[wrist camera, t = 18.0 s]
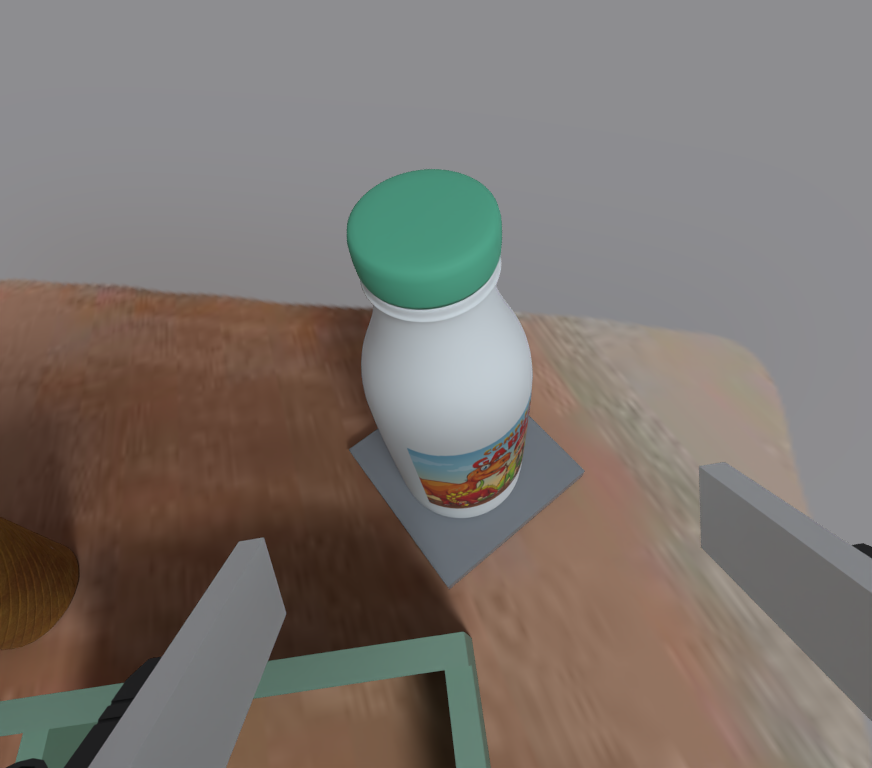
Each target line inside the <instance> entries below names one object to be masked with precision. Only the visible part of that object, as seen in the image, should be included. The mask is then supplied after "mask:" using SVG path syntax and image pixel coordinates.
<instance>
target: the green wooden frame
mask: <svg viewBox="0 0 872 768" xmlns="http://www.w3.org/2000/svg"><path fill="white" fill-rule="evenodd" d="M442 670H445V676H446V685H447V693H448V702H449V710H450V719H451V727H452V736H453V744H454V753H455V761H456V768H491V766H490V759H489V753H488V746H487V739H486V732H485V725H484V719H483V712H482V705H481V698H480V692H479V685H478V678H477V671H476V664H475V658H474V651H473V644H472V638H471V637H470V636H469V635H467V634H466V633H465V632H458V633H451V634H444V635H438V636H431V637H424V638H418V639H411V640H405V641H398V642H391V643H385V644H378V645H371V646H365V647H358V648H352V649H345V650H338V651H332V652H325V653H318V654H312V655H305V656H299V657H292V658H285V659H279V660H272V661H268V662H267V664H266V667H265V669H264V672H263V674H262V677H261V680H260V682H259V685H258V687H257V690H256V692H255V695H254V697H253V699H254V698H261V697H268V696H274V695H281V694H288V693H295V692H301V691H308V690H315V689H321V688H328V687H335V686H341V685H348V684H355V683H362V682H368V681H375V680H382V679H388V678H395V677H402V676H408V675H415V674H422V673H429V672H435V671H442ZM123 684H124V683H120V684H113V685H106V686H100V687H93V688H86V689H80V690H73V691H67V692H60V693H53V694H47V695H40V696H33V697H27V698H20V699H14V700H7V701H0V736H6V735H13V734H20V733H23V735H22V739H21V743H20V747H19V751H18V754H17V758H16V762H19V761H23V760H27V759H31V758H36V759H41V760H44V761H45V763H46V765H47V767H48V768H64V766H65V765H66V764H67V762H68V761H69V759H70V758H71V757H72V755H73V754H74V752H75V751H76V750H77V748H78V747H79V746H80V744H81V743H82V741H83V740H84V739H85V737H86V736H87V734H88V733H89V732H90V730H91V729H92V727H93V726H94V725H96V724H97V723H98V719H99V718H100V716H101V715H102V713H103V712H104V711H105V709H106V708H107V706H109V705H111V701H112V699H113V698H114V697H115V695H116V694H117V692H118V691H119V690H120V688H121V687H122V685H123ZM16 762H15V763H16Z"/></svg>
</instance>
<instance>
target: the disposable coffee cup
mask: <svg viewBox="0 0 872 768" xmlns="http://www.w3.org/2000/svg"><path fill="white" fill-rule="evenodd" d="M78 577H79V571H78V563H77V559H76V557H75V556H74V554H73V552H72V551H71V550H70V549H69V548H68V547H66V546H64V545H62V544H59V543H57V542H55V541H52V540H50V539H48V538H46V537H43V536H41V535H39V534H37V533H35V532H32V531H30V530H28V529H26V528H24V527H22V526H19V525H17V524H15V523H13V522H11V521H8V520H6V519H4V518H2V517H0V649H1V650H6V649H14V648H18V647H22V646H25V645H27V644H29V643H31V642H34V641H35V640H37V639H38V638H40V637H41V636H43V635H44V634H45V633H46V632H47V631H49V630H50V629H51V628H52V627H53V626H54V625H55V624H56V622H57V621H58V620H59V619H60V618H61V617H62V615H63V614H64V612H65V611H66V609H67V608H68V606H69V604H70V602H71V600H72V598H73V596H74V593H75V590H76V587H77V583H78Z"/></svg>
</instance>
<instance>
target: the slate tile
mask: <svg viewBox="0 0 872 768" xmlns="http://www.w3.org/2000/svg"><path fill="white" fill-rule="evenodd" d="M349 451H350V452H351V454H352V455H353V456H354V458H355V459H356V461H357V462H358V463H359V465H360V466H361V468H362V469H363V470H364V472H365V473H366V475H367V476H368V477H369V479H370V480H371V481H372V483H373V484H374V486H375V487H376V488H377V490H378V491H379V493H380V494H381V495H382V497H383V498H384V500H385V501H386V502H387V504H388V505H389V506H390V508H391V509H392V511H393V512H394V513H395V515H396V516H397V518H398V519H399V520H400V522H401V523H402V524H403V526H404V527H405V529H406V530H407V531H408V533H409V534H410V536H411V537H412V538H413V540H414V541H415V543H416V544H417V545H418V547H419V548H420V549H421V551H422V552H423V554H424V555H425V556H426V558H427V559H428V561H429V562H430V563H431V565H432V566H433V568H434V569H435V570H436V572H437V573H438V574H439V576H440V577H441V579H442V580H443V581H444V583H445V584H446V586H447V587H448V588H449V589H450V588H452V587H453V586H454V585H455V584H456V583H457V582H459V581H460V580H461V579H462V578H463V577H464V576H466V575H467V574H468V573H469V572H470V571H472V570H473V569H474V568H475V567H476V566H477V565H479V564H480V563H481V562H482V561H483V560H484V559H486V558H487V557H488V556H489V555H490V554H491V553H493V552H494V551H495V550H496V549H497V548H498V547H500V546H501V545H502V544H503V543H504V542H506V541H507V540H508V539H509V538H510V537H511V536H513V535H514V534H515V533H516V532H517V531H518V530H520V529H521V528H522V527H523V526H524V525H525V524H527V523H528V522H529V521H530V520H531V519H532V518H534V517H535V516H536V515H537V514H538V513H540V512H541V511H542V510H543V509H544V508H545V507H547V506H548V505H549V504H550V503H551V502H552V501H554V500H555V499H556V498H557V497H558V496H559V495H561V494H562V493H563V492H564V491H565V490H566V489H568V488H569V487H570V486H571V485H572V484H574V483H575V482H576V481H577V480H578V479H579V478H581V477H582V475H583V473H584V470H583V469H582V468H581V467H580V466H579V465H578V464H577V463H576V462H575V461H574V460H573V459H572V458H571V457H570V456H569V455H568V454H567V453H566V452H565V451H564V450H563V449H562V448H561V447H560V446H559V445H558V444H557V443H556V442H555V441H554V440H553V439H552V438H551V437H550V436H549V435H548V434H547V433H546V432H545V431H544V430H543V429H542V428H541V427H540V426H539V425H538V424H537V423H536V422H535V421H534V420H533V419H532V418H531V417H530V416H529V418H528V426H527V433H526V439H525V446H524V453H523V459H522V465H521V469H520V473H519V477H518V480H517V482H516V485H515V487H514V488H513V490H512V492H511V493H510V494H509V496H508V497H507V498H506V499H505V500H504V501H503V502H502V503H501V504H500V505H498V506H497V507H496V508H494V509H492V510H491V511H489V512H487V513H485V514H482V515H479V516H475V517H469V518H452V517H447V516H443V515H440V514H437V513H435V512H433V511H431V510H429V509H428V508H426V507H425V506H423V505H422V504H421V503H420V502H419V501H418V500H417V499H416V498H415V497H414V496H413V494H412V493H411V491H410V490H409V488H408V487H407V485H406V483H405V481H404V479H403V477H402V475H401V474H400V472H399V470H398V468H397V466H396V464H395V462H394V460H393V458H392V456H391V454H390V452H389V450H388V448H387V446H386V444H385V442H384V440H383V437H382V435H381V433H380V431H379V429H377V430H375V431H374V432H373V433H371V434H370V435H368V436H367V437H366V438H364V439H363V440H361V441H360V442H359V443H357V444H356V445H355V446H353V447H352V448H350V449H349Z"/></svg>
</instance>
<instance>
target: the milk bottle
mask: <svg viewBox="0 0 872 768" xmlns="http://www.w3.org/2000/svg"><path fill="white" fill-rule="evenodd" d="M501 243H502V221H501V214H500V211H499V208H498V204H497V202H496V200H495V198H494V196H493V195H492V193H491V192H490V191H489V190H488V189H487V188H486V187H485V186H484V185H483V184H481V183H480V182H478V181H477V180H475V179H473V178H471V177H469V176H466V175H464V174H461V173H457V172H453V171H448V170H439V169H425V170H417V171H411V172H407V173H403V174H400V175H397V176H394V177H392V178H389V179H387V180H385V181H383V182H381V183H380V184H378V185H376V186H375V187H374V188H372V189H371V190H369V191H368V192H367V193H366V194H365V195H364V196H363V197H362V198H361V199H360V200H359V201H358V202H357V204H356V205H355V206H354V208H353V210H352V212H351V214H350V217H349V219H348V223H347V244H348V248H349V252H350V255H351V258H352V262H353V264H354V266H355V269H356V272H357V274H358V276H359V278H360V282H361V286H362V289H363V291H364V293H365V295H366V297H367V298H368V299H369V301H370V302H371V303H372V304H373V313H372V317H371V320H370V323H369V326H368V329H367V332H366V335H365V339H364V343H363V349H362V358H361V370H362V382H363V387H364V392H365V396H366V399H367V403H368V405H369V407H370V410H371V412H372V415H373V417H374V420H375V422H376V425H377V427H378V429H379V431H380V433H381V435H382V437H383V440H384V442H385V444H386V446H387V448H388V450H389V452H390V454H391V456H392V458H393V460H394V462H395V464H396V466H397V468H398V470H399V472H400V474H401V475H402V477H403V479H404V481H405V483H406V485H407V487H408V488H409V490H410V491H411V493H412V494H413V496H414V497H415V498H416V499H417V500H418V501H419V502H420V503H421V504H422V505H423V506H425V507H426V508H428V509H429V510H431V511H433V512H435V513H437V514H440V515H443V516H447V517H452V518H469V517H475V516H479V515H482V514H485V513H487V512H489V511H491V510H492V509H494V508H496V507H497V506H498V505H500V504H501V503H502V502H503V501H504V500H505V499H506V498H507V497H508V496H509V494H510V493H511V492H512V490H513V488H514V487H515V485H516V482H517V480H518V477H519V473H520V469H521V465H522V459H523V453H524V446H525V439H526V433H527V426H528V418H529V411H530V403H531V391H532V361H531V354H530V349H529V345H528V341H527V338H526V335H525V333H524V330H523V328H522V326H521V324H520V322H519V320H518V318H517V316H516V315H515V313H514V312H513V311H512V309H511V308H510V306H509V305H508V304H507V302H506V301H505V300H504V298H503V297H502V296H501V295H500V293H499V291H498V289H497V287H496V283H497V281H498V278H499V275H500V271H501V256H500V254H501V245H502V244H501Z"/></svg>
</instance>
